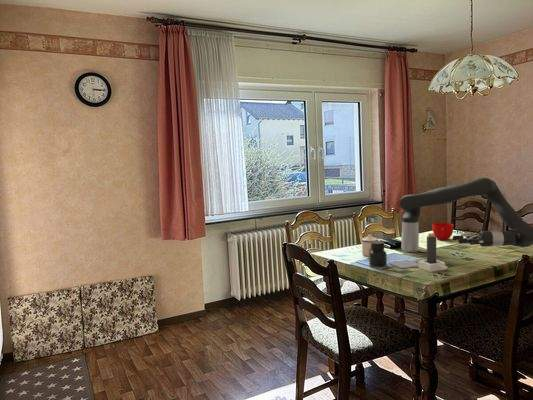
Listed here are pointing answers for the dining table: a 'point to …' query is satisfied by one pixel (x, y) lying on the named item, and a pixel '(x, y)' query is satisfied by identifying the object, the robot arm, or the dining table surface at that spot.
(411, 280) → the dining table surface
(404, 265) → the grey felt mat
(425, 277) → the dining table surface
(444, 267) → the square ring with handle
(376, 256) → the ink bottle
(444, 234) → the ceramic cup
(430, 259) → the black cable stub
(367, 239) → the teacup with lid
